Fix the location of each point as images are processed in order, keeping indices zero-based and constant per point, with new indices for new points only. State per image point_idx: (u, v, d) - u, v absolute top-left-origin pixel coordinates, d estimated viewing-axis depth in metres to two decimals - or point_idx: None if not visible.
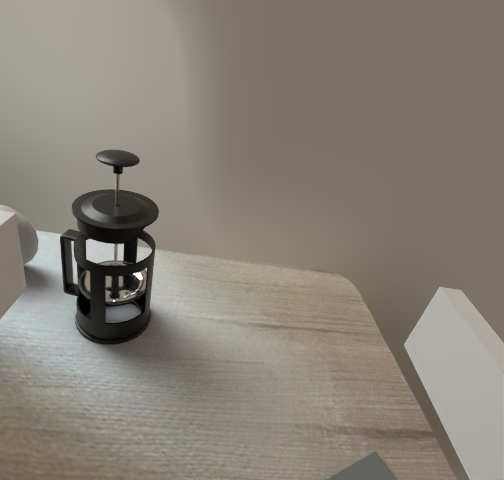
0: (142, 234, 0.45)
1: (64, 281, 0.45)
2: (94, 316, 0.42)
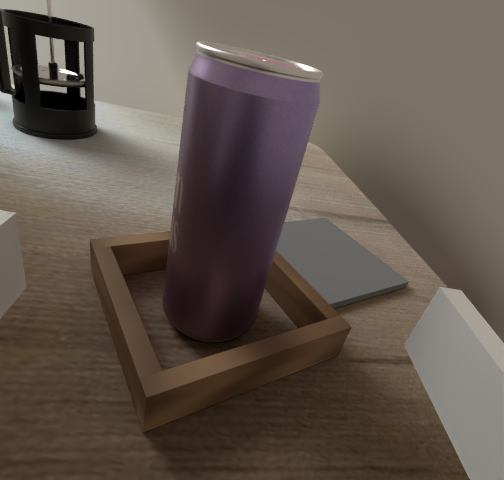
0: (82, 26, 0.43)
1: None
2: (28, 97, 0.40)
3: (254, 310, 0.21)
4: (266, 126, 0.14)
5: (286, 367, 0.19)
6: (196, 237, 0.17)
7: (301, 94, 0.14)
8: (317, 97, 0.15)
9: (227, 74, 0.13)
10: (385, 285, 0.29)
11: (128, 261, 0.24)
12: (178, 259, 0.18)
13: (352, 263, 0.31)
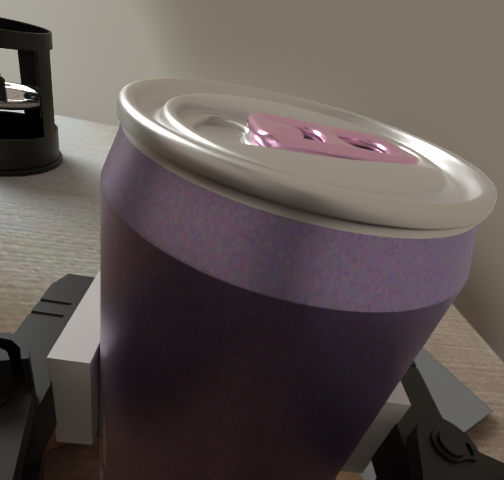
0: (38, 30, 0.33)
1: None
2: None
3: None
4: (339, 378, 0.04)
5: None
6: None
7: (455, 271, 0.04)
8: None
9: (207, 226, 0.04)
10: (463, 424, 0.19)
11: None
12: None
13: None
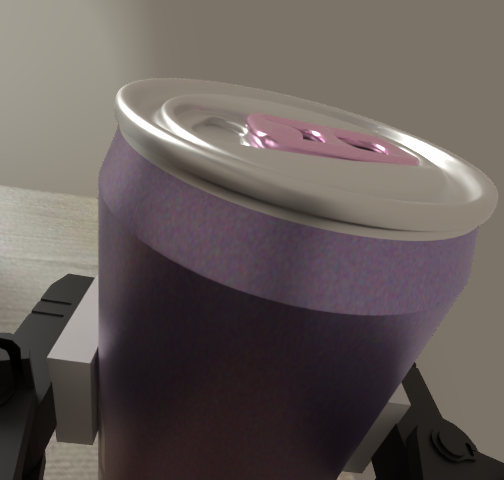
0: None
1: None
2: None
3: None
4: (339, 381, 0.04)
5: None
6: None
7: (456, 273, 0.04)
8: None
9: (205, 228, 0.04)
10: None
11: None
12: None
13: None
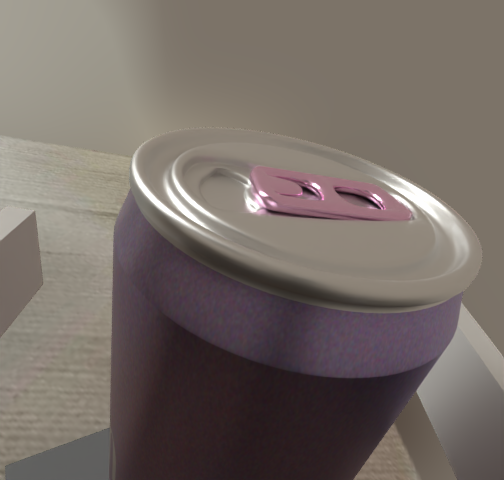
0: None
1: None
2: None
3: None
4: (331, 430, 0.05)
5: None
6: None
7: (440, 334, 0.05)
8: None
9: (209, 300, 0.04)
10: None
11: None
12: None
13: None
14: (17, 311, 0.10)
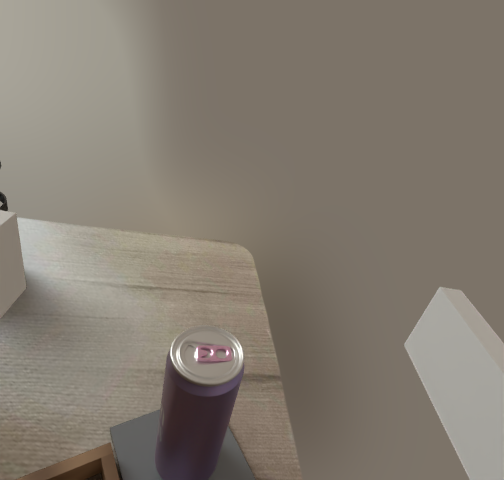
0: None
1: None
2: None
3: (213, 467, 0.32)
4: (207, 405, 0.25)
5: None
6: (172, 443, 0.28)
7: (227, 388, 0.25)
8: (239, 378, 0.26)
9: (184, 384, 0.25)
10: None
11: None
12: (162, 447, 0.30)
13: None
14: None
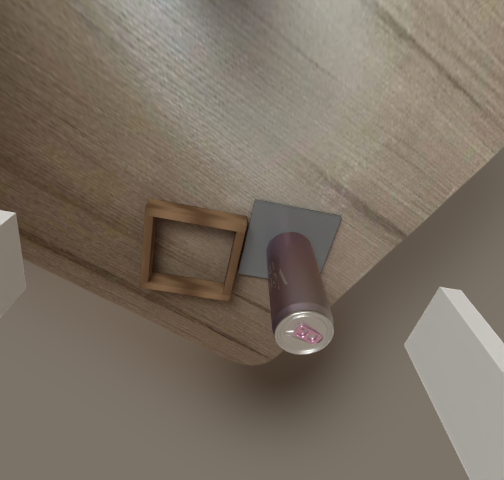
0: None
1: None
2: None
3: None
4: None
5: None
6: None
7: None
8: None
9: None
10: None
11: None
12: None
13: None
14: None
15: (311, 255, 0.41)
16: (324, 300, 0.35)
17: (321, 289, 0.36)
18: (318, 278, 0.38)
